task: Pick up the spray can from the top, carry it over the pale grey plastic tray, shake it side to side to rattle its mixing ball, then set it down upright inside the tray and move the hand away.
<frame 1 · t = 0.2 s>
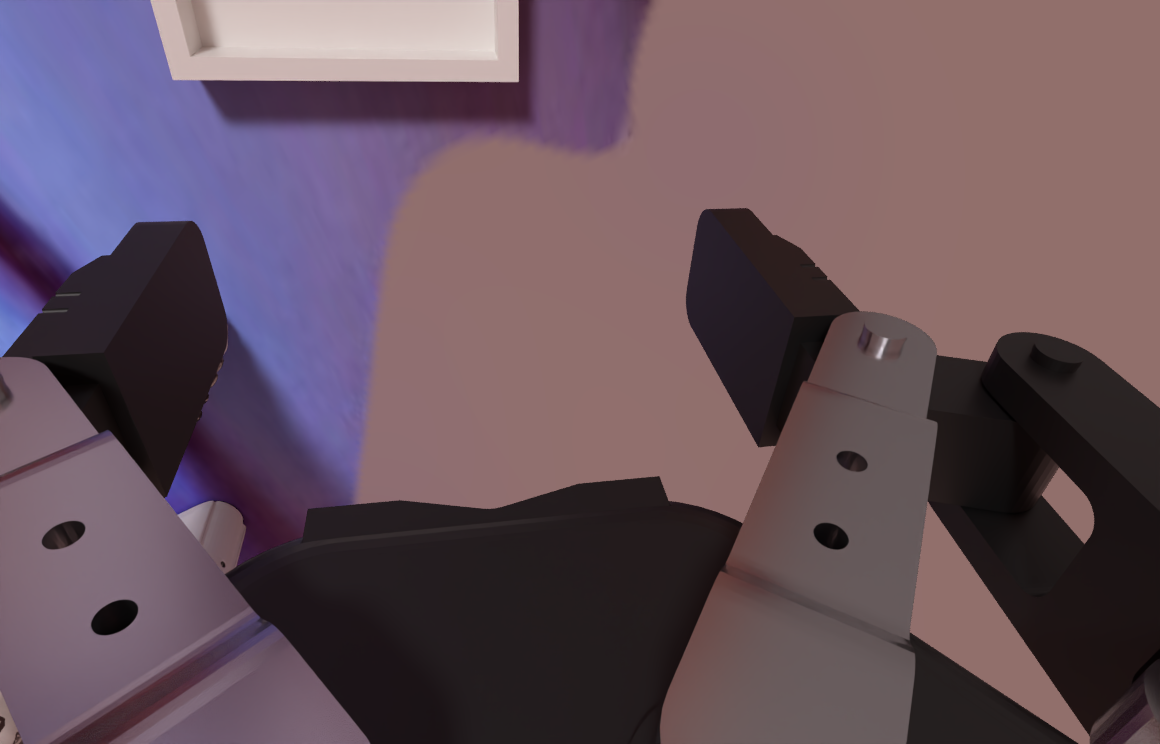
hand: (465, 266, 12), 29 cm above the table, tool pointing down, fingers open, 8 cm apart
decorative candle: (154, 325, 42), on the table
white rounded block: (182, 532, 52), on the table
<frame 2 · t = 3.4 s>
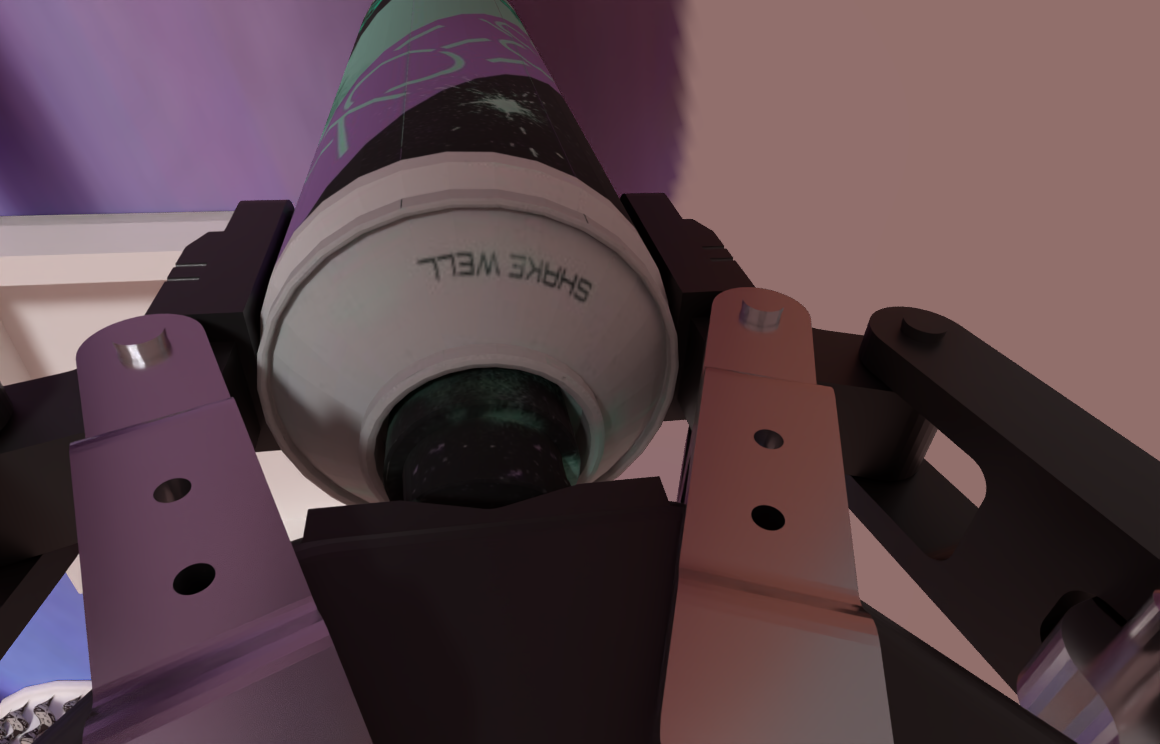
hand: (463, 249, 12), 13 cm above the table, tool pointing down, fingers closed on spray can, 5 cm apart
decorative candle: (84, 716, 40), on the table
spray can: (446, 60, 23), on the table, touching gripper
tray: (247, 392, 29), on the table
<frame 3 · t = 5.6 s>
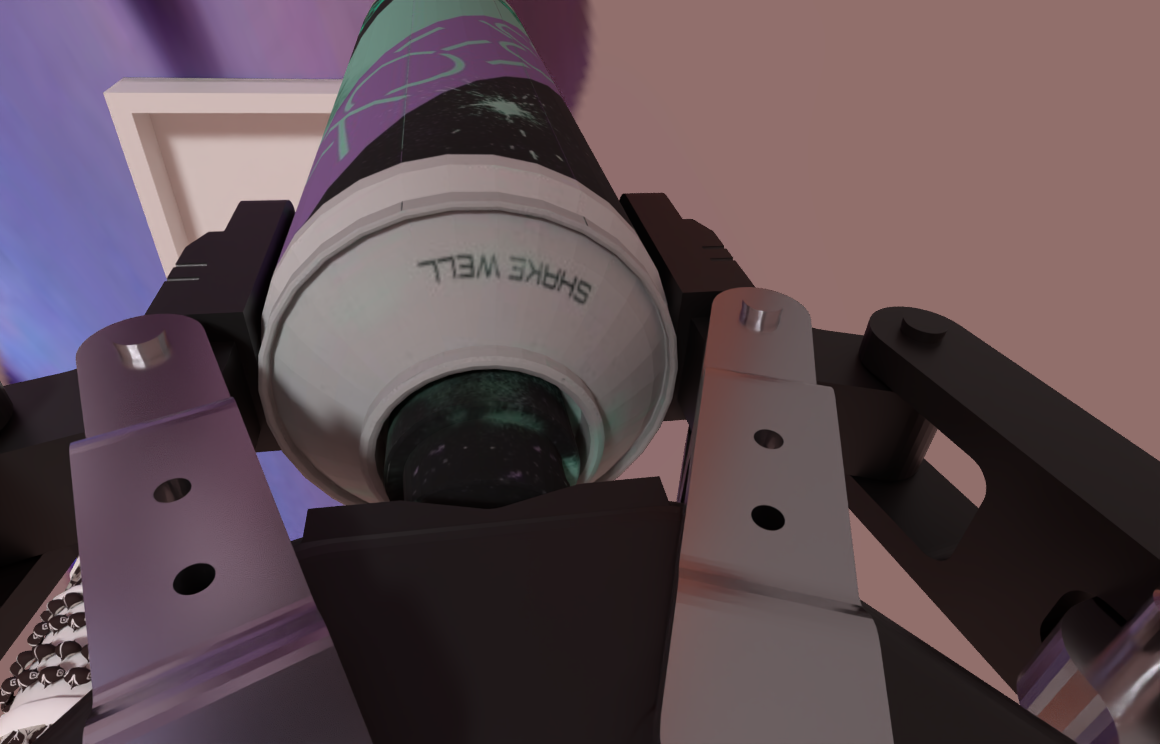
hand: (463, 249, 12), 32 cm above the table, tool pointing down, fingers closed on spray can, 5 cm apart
decorative candle: (174, 490, 55), on the table
spray can: (446, 61, 23), point 18 cm above the table, touching gripper
tray: (306, 213, 43), on the table
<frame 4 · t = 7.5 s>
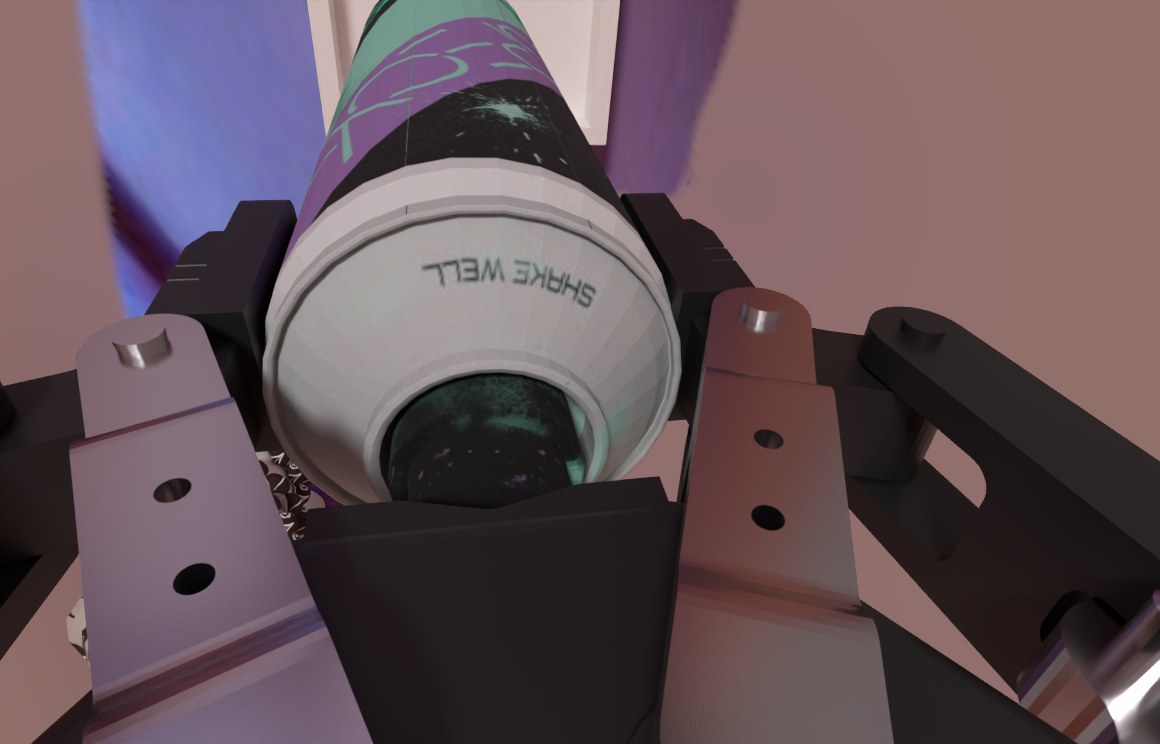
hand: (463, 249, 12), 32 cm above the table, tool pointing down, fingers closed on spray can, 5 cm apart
decorative candle: (272, 336, 49), on the table
spray can: (448, 62, 23), point 19 cm above the table, touching gripper
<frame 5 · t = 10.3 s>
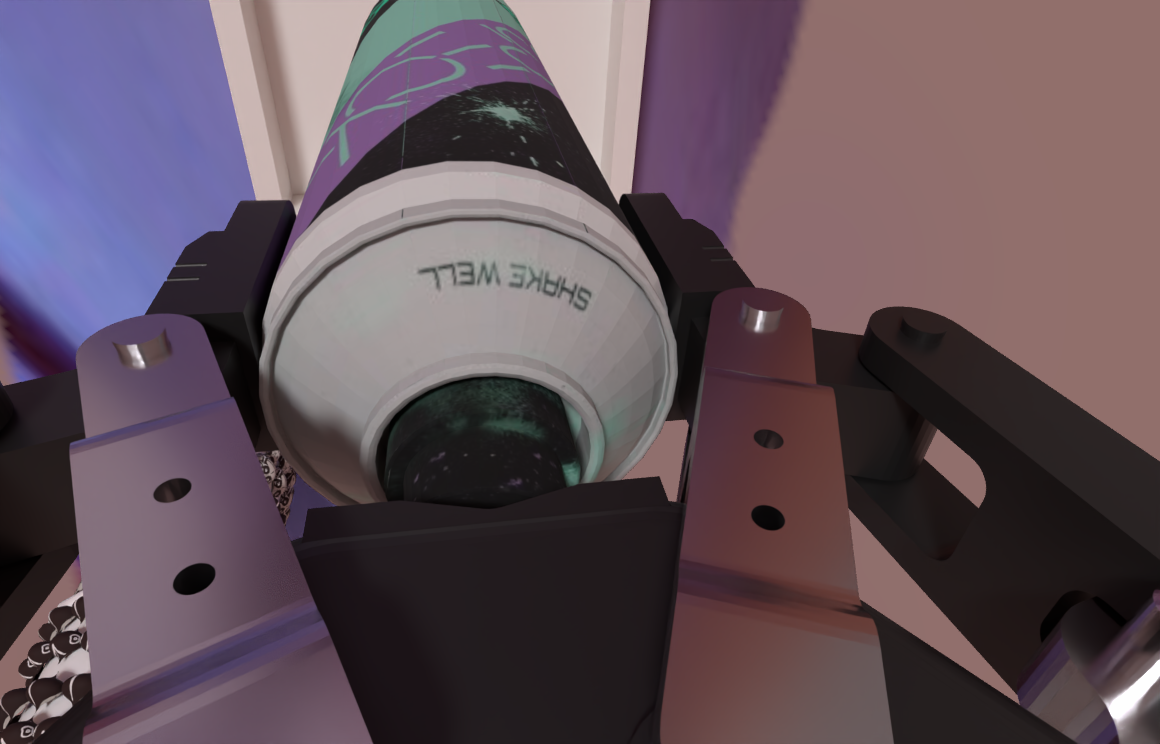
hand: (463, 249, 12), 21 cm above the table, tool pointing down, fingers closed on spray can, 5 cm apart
decorative candle: (221, 454, 40), on the table
spray can: (447, 63, 23), point 7 cm above the table, touching gripper
tray: (441, 22, 29), on the table
when the fingers open (16 cm above the table, at t = 11.9 s): spray can drops 1 cm, resting on tray.
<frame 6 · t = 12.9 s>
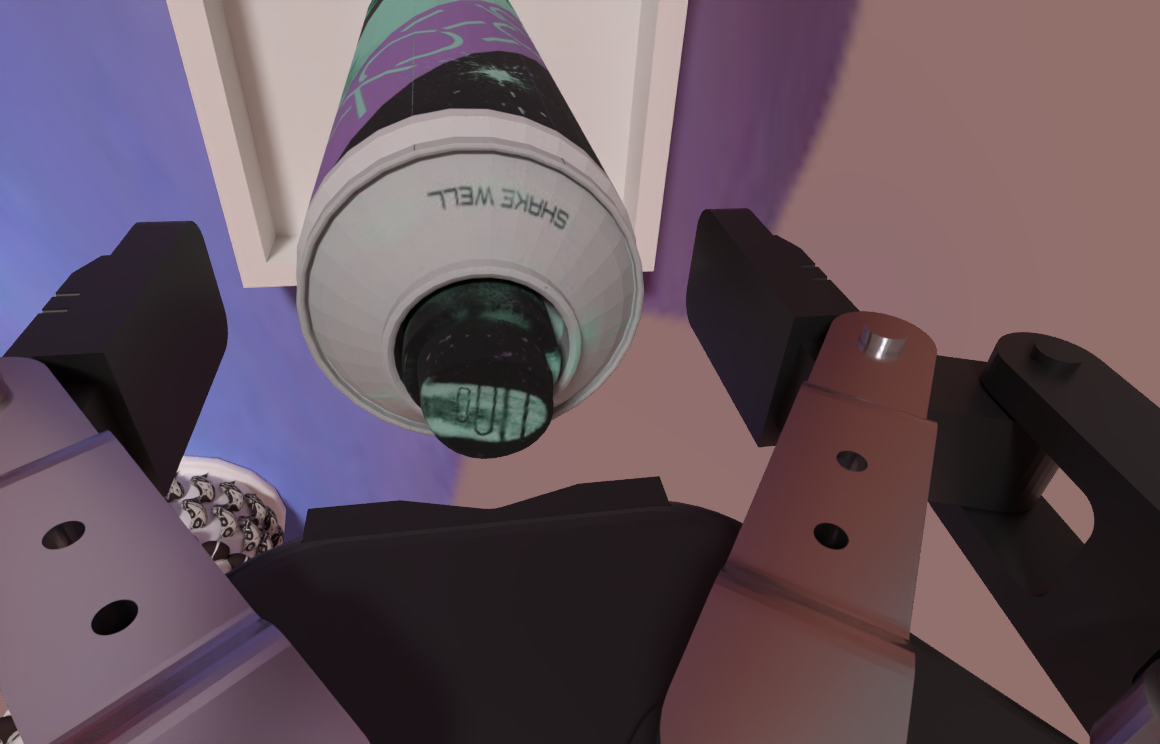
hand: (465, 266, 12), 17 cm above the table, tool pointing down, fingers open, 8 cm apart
decorative candle: (202, 512, 36), on the table
spray can: (444, 45, 25), point 1 cm above the table, touching tray
tray: (444, 43, 25), on the table
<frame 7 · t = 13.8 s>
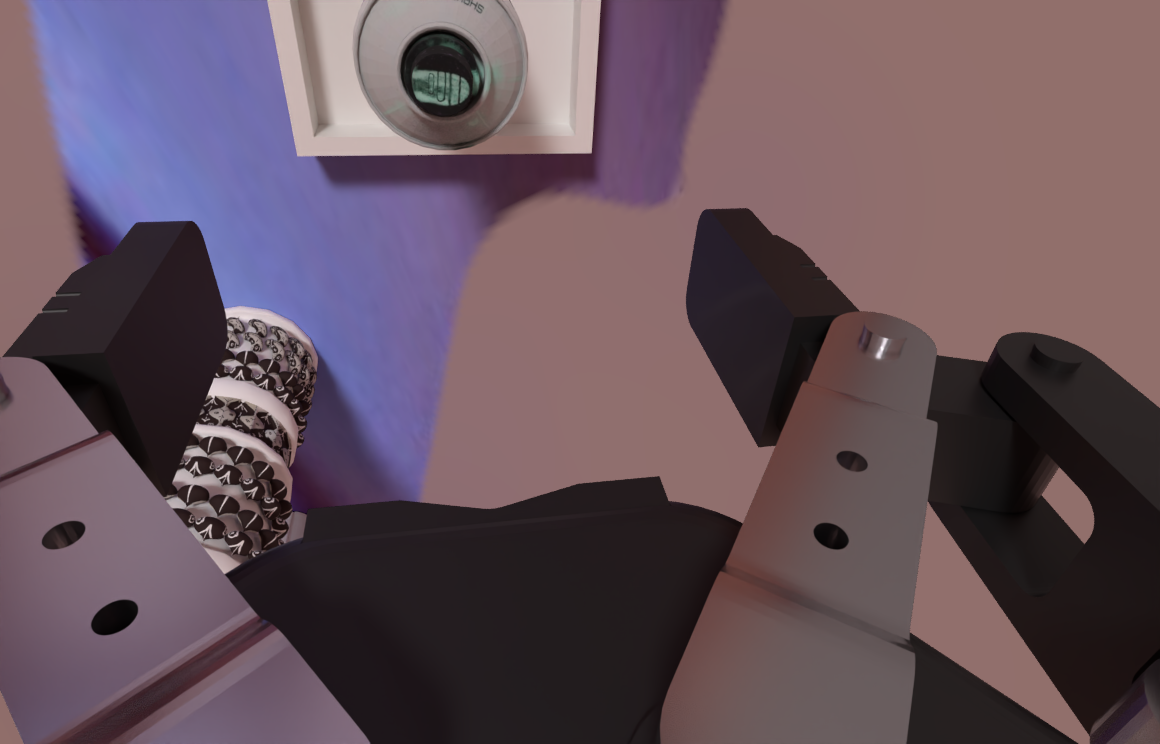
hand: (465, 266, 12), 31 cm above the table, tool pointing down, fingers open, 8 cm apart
decorative candle: (253, 357, 47), on the table
white rounded block: (261, 539, 58), on the table
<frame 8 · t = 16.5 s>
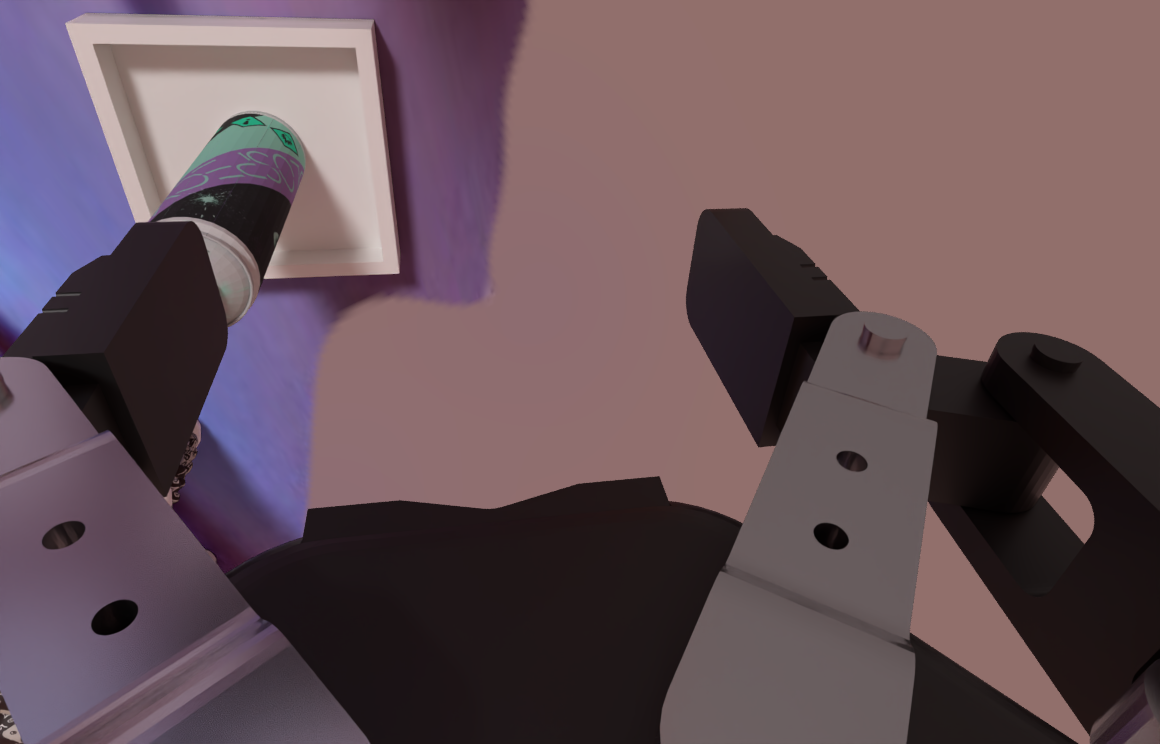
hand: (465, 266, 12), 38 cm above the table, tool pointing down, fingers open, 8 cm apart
decorative candle: (146, 426, 57), on the table
spray can: (262, 152, 45), point 1 cm above the table, touching tray
tray: (264, 149, 46), on the table
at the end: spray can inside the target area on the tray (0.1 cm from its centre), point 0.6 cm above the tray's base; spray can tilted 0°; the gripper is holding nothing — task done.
